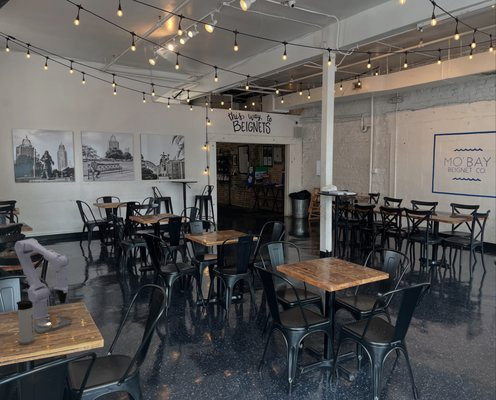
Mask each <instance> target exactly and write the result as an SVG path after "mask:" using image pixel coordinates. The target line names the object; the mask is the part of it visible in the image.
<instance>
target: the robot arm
mask: <svg viewBox="0 0 496 400" xmlns="http://www.w3.org/2000/svg"><path fill="white" fill-rule="evenodd" d="M13 248H14V250H15V253H16V255H17V258H18V261H19V263H20V265H21V268H22V271H23V273H24V275H25V277H26V281H28V285H29V288H28V289H27V291H26V292H27V294H28V295H27V296H28V301H32V303H33V319H34V320H36V321H37V320H42V319H46V318H47V317H51V316H52V315H51V314H49V313H48V299H49V297H50V296H51V291H50V288H48V286H47V284H45V283H44V282H42V281H41V279H40V278H39V277H40V276H39V275H38V273H37V270H36V268H35V265H34V263H33V260H32V258H31V255H32V254H34V252H35V253H38V254H40V255H41V256H43V259H45V260H46V261H48V262H49V263H50V264H51V265H52V267H53V269H54V272H55V276H54V277H55V286H54V287H53V290H55V293H56V294H57V296H58V300H59V303H60V304H65V303H66V299H67V295H68V293H69V285H68V268H67V267H68V265H69V263H70V259H69V257H68V256H67V255H66V254H63V255H61V254H60V253H57V252H56V251H55V250H54V249H47V248H45V247H44V246H43V245H42V244H40V243H39V242H38V240H37V239H35V238H34V237H31V238H28V239H23V240H17V241H16V242H15V244H14V247H13Z"/></svg>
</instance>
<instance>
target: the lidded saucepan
mask: <svg viewBox="0 0 496 400" xmlns="http://www.w3.org/2000/svg"><path fill="white" fill-rule="evenodd" d="M56 316H57V315H51V316H48V317H45V318H42V319H39V320H38V321H39V322H38V323H37V326H38V327H49V324H51V328H56V327H59V325H58V324H59V323H60V322H61V319H60V318H56Z"/></svg>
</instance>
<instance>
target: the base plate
mask: <svg viewBox="0 0 496 400" xmlns="http://www.w3.org/2000/svg"><path fill="white" fill-rule="evenodd" d="M55 316H56V318H60V319H61V322H60V323H59V324H58V325H59V327H56V328H51V324H49V327H38V326H37V323H38V322H39V321H40V320H38V321H37V320H36V321H34V333H36V334H38V335H42V334H45V333H49V332H53V331H56V330H59V329H62V328H65V327H68V326H69V327H70V326H72V322H71V321H69V320H67V319H65V318H63V317H62V316H59V315H55Z"/></svg>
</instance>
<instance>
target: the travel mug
mask: <svg viewBox="0 0 496 400" xmlns="http://www.w3.org/2000/svg"><path fill="white" fill-rule="evenodd" d="M16 305H17V321H18V337H19V338H18V340H19V344H20V345H22V346H23V345H25V346H26V345H30V344H33V343H34V342H35V341H36V338H35V331H34V322H35V321H34V320H35V319H33V303H32V301H30V300H19V301H17V302H16Z"/></svg>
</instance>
